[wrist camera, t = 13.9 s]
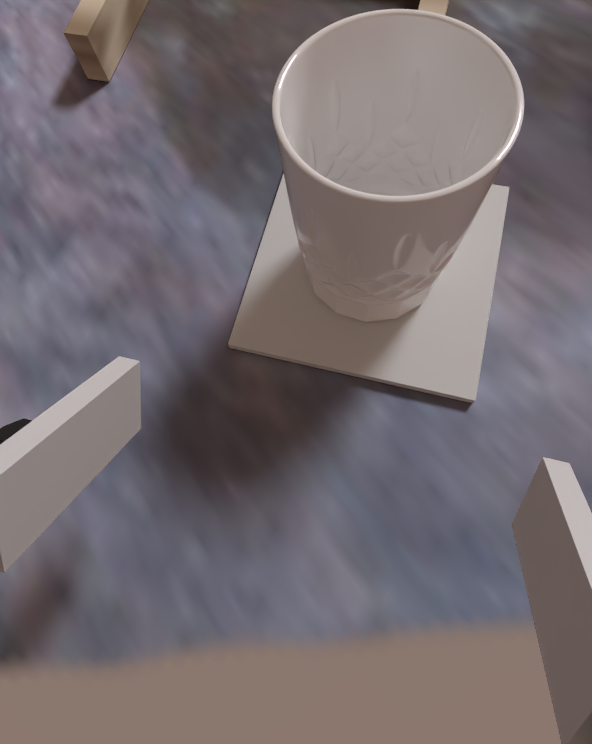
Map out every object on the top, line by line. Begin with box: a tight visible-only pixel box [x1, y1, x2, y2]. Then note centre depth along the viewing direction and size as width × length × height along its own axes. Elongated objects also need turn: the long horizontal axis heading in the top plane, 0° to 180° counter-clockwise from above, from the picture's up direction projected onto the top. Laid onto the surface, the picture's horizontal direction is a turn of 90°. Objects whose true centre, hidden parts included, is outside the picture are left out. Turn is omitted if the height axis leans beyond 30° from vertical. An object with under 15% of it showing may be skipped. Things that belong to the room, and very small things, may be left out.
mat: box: [228, 173, 509, 403], centre depth 25 cm, size 12×12×1 cm
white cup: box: [272, 9, 524, 322], centre depth 20 cm, size 8×8×10 cm
